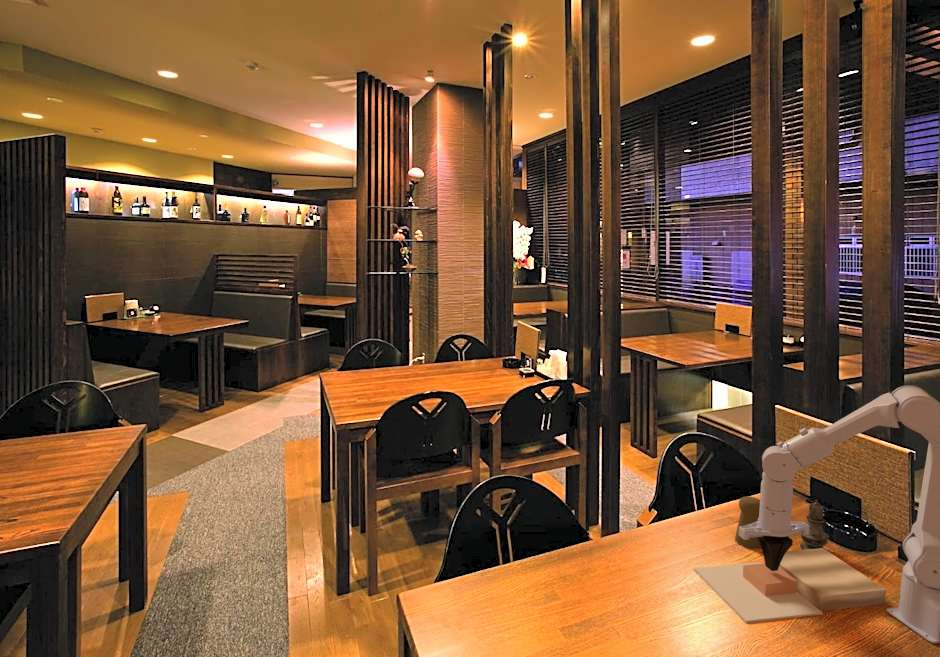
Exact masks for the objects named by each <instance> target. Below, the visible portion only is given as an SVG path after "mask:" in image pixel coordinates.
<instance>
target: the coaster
mask: <svg viewBox="0 0 940 657" xmlns="http://www.w3.org/2000/svg"><path fill="white" fill-rule="evenodd" d="M743 577H744V578H745V579H746V580H747V581H749V582H750V583H751V584H752V585H753V586H754V587H755V588H757V589H758V590H759V591H760V592H761V593H762V594H763V595H764V596H770V595H779V594H789V593H796V592H797V581H796V580H795V579H794V578H793V577H791V576H790V575H789V574H787V573H786V572H785V571H784V570H782V569H781V568H780V567H779V568H778V571H771V570H770V569H769V568H767V567H766V565H765V562H764V563H762V564H753V565H743Z"/></svg>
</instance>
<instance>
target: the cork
mask: <svg viewBox="0 0 940 657" xmlns="http://www.w3.org/2000/svg"><path fill="white" fill-rule="evenodd" d="M738 506H739V507H738V508H739V510H740V513H739V519H738V523H737V529H736V533H735V537H734V542H735V543H736V542H737V543H739V544H740V545H739V544H738V545H739V546H741V545H742V546H741V547H743V546H744V547H743V548H746V547H747V548H746V549H752V550H757V549H761V546H760V544H759V542H758V540H757V538H756V537H752V538H749V539H748V540H744V539H743V538H741V537H740V536H739V527H740V526H746V525H749V524H751V523H754V522H757V521H758V518H759V510H760V499H759V498H757V497H754V496H743V497H741V498H740V499H739V501H738ZM737 543H736V544H737Z"/></svg>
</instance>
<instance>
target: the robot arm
mask: <svg viewBox="0 0 940 657" xmlns="http://www.w3.org/2000/svg"><path fill="white" fill-rule="evenodd" d="M898 422H901V423H902V424H903V425H904V426H905V427H907V428H908V429H910V430H912V431H915V432H916V433H919V434H920V435H921V436H922V437H923V438H924V439H925V440H926V441H928V446H927V451H926V459H925V464H924V470H923V477H922V486H921V488H920V489H921V490H920V495H919V496H920V497H919V503H918V508H917V515H916V520H915V521H914V523H913V524H912V526H911V531H910V533H909V534H908V535H907V536H906V537H905V538H904V540H903V542H902V550H903V551H902V552H904V555H905V556H906V558H907V561H906V563H905V564H904V566H903V567H902V570H901V571H902V574H901V583H900V592H899V605H898V606H896V607H895V606H894V607H887V608H886V610H885V612H887V613H888V614H890V615H891V616H893V617H894V618H895V619H897V620H898V621H900V622H901V623H902V624H904V625H906V627H908V628H910V629H911V630H913V631H914V632H915V633H917V634H918V635H919V636H920V637H922V638H924V639H925V640H927V642H929V643H931V644H940V402H939V401H938V399H936V398H934V396H932V395H931V394H929V393H928V392H927V391H926V390H924V389H922V388H921V387H919V386H916V385H902V386H899V387H897V388H896V389H894V390H893V391H891V392H887V393H883V394H881V395H879V396H878V397H876V398H875V399H873V400H872V401H870V402H869V403H866V404H865V405H863V406H861V407H859V408H858V409H856V410H854V411H852V412H851V413H849V414H847V415H845V416H844V417H842V418H840V419H839V420H837V421H836V422H833V423H832V424H830V425H828V426H827V427H825V428H821V427H820V428H819V427H810V428H809V429H807V428H806V427H803V428H802V429H800V430H799V434H797V435H796V436H794V437H791V438H789V439H788V440H785V441H784V442H783V441H782V440H781V441H779V442H777V446H776V445H772V446H769V447H768V448H766V449H765V450H764V452H763V453H762V455H761V461H762V462H761V463H762V464H761V465H762V471H763V472H762V474H761V479H762V480H761V482H760V496H759V497H760V499H759V500H760V510H759V518H758V521H757V522H754V523H751V524H749V525H746V526H740V527H739V536H740V537H741V538H743V539H744V540H748V539H749V538H752V537H756V538H757V540H758V542H759V544H760V546H761V548H760V550H761V551H762V552H761V553H762V555H763V560H764V563H765V565H766V567H767V568H769V569H770V570H771V571H778V568H779V566H780V563H781V561H782V559H783V556H784V555H785V553H786V552H787V551H789V549H790V548H791V547H792V546H793V544H794V540H793V539H792V538H791V537H789V536H792V535H797V534H798V535H799V534H800V533H803V534H804V535H808V534H809V525H808V524H807V523H806V522H805V521H793V520H792V513H793V512H792V511H793V510H792V508H793V496H794V486H793V479H794V477H795V476H796V473H797V471H798V470H800V469H804V468H806V467H808V466H810V465H812V464H814V463H816V462H818V461H820V460H822V459H825V458H826V457H828V456H830V455H832V454H833V453H834V449H835V446H836V445H837V444H839V443H841V442H843V441H845V440H846V441H847V439H850V438H852V437H854V436H857V435H860V434H862V433H864V432H866V431H868V430H870V429H873V428H875V427H877V426H879V427H880V426H881V427H889V428H894V429H895V428H896V429H900V426H899V424H898Z"/></svg>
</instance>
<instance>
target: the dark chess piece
mask: <svg viewBox="0 0 940 657" xmlns="http://www.w3.org/2000/svg"><path fill="white" fill-rule="evenodd" d="M806 519H807V523H806V524H808V525H809V534H808V535H804V534H803V533H799V534H800V536H801V539H802V541H803V542H801V543H800V544H799V545H800V546H799V547H800V549H801V550H807V549H818V548H824V549H825V550H827V549H826V548H825V547H824V546H826V544H827V542H828V540H829V539H830V536H829V534H827V533H826V532H824V530H823V526H824V525H823V524H824V523H825V519H824V507H823V505H822V504H820V503H819V500H818V499H816V500H815V501H814V502H812V503H809V505H808V515H806Z"/></svg>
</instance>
